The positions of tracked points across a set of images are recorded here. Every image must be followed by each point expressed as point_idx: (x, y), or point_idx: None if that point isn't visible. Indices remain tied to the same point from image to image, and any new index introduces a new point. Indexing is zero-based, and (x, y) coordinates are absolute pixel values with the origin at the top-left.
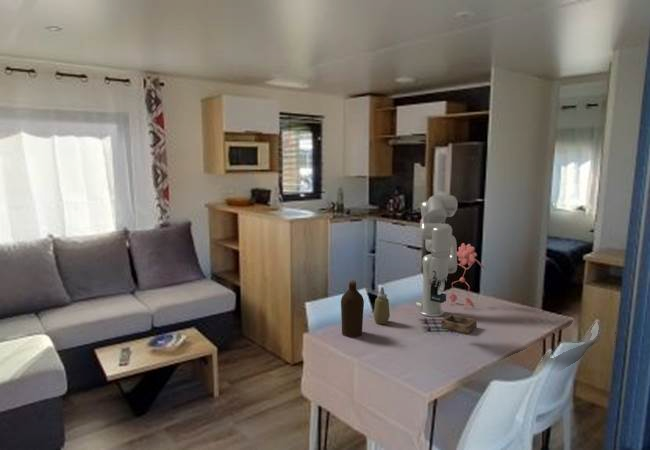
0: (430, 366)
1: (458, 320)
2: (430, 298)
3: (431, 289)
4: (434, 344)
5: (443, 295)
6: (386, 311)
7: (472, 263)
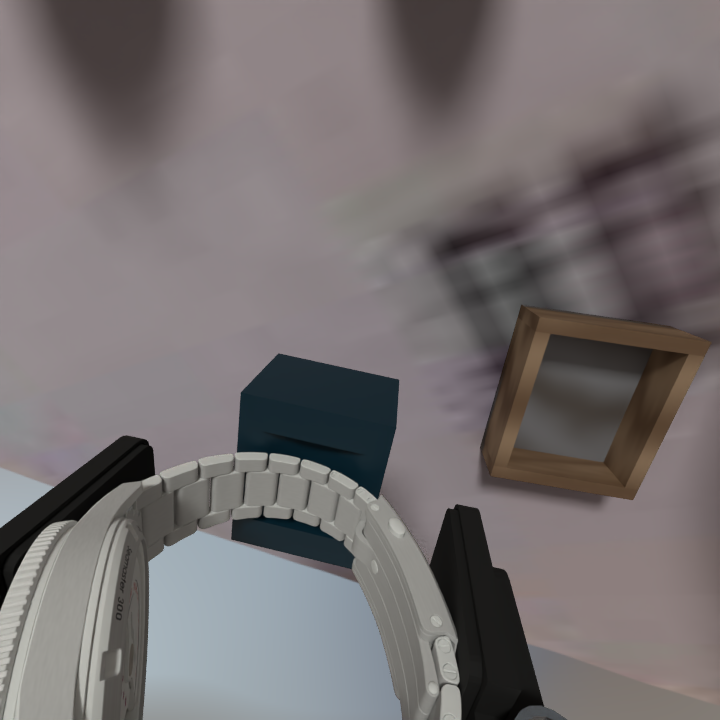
0: (49, 386)
1: (650, 387)
2: (266, 366)
3: (62, 500)
4: (264, 338)
5: (288, 550)
6: None
7: None
